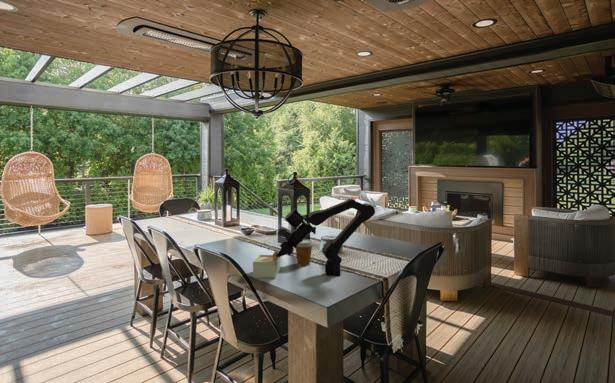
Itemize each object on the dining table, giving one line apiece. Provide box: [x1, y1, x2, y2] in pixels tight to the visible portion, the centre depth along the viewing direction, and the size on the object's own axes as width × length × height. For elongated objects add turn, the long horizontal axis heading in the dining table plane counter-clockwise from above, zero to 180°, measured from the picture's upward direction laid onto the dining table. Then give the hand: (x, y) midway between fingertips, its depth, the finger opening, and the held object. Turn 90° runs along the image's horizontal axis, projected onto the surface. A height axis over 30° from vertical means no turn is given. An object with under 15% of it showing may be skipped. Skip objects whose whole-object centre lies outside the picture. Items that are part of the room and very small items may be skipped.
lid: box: [257, 250, 279, 263], centre depth 175 cm, size 9×10×4 cm
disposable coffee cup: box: [295, 238, 314, 267], centre depth 191 cm, size 10×10×12 cm
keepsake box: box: [252, 254, 281, 280], centre depth 176 cm, size 10×12×8 cm
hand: (277, 256), depth 174 cm, fingers closed, pressing on lid
